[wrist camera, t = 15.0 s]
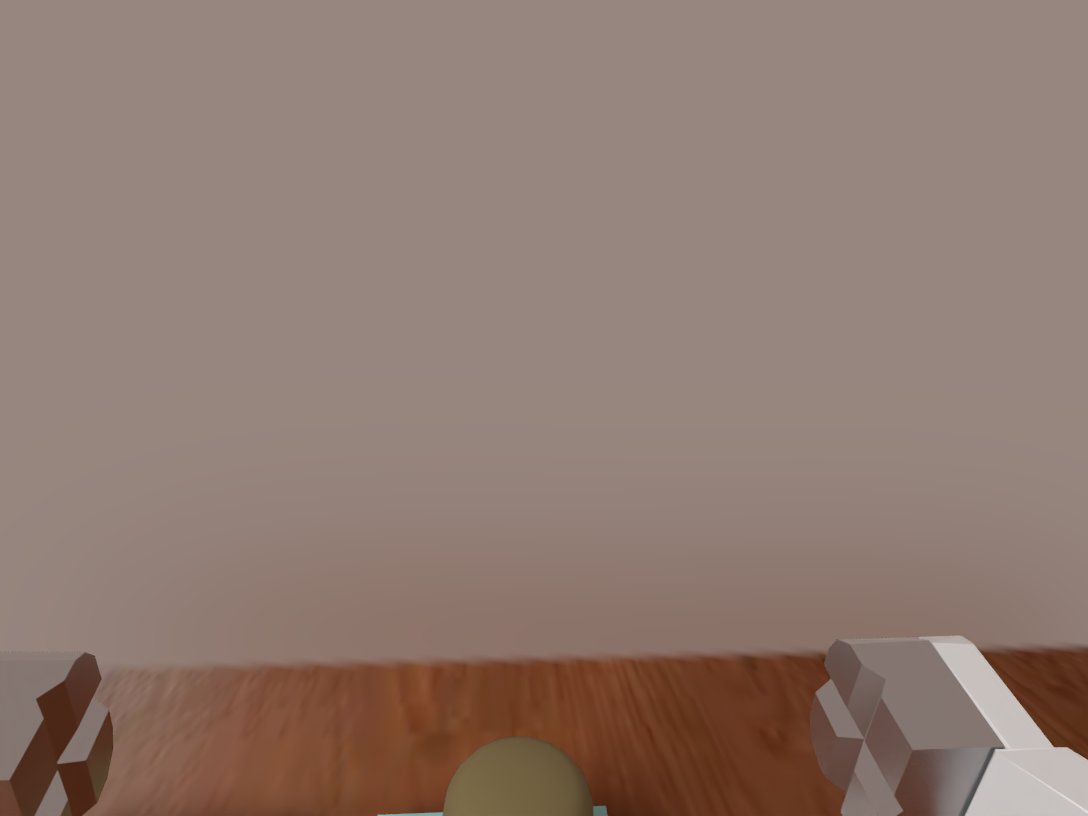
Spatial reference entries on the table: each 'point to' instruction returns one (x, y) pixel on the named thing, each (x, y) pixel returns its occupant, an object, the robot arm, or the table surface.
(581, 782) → the olive pawn
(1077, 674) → the table surface
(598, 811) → the teal socket
